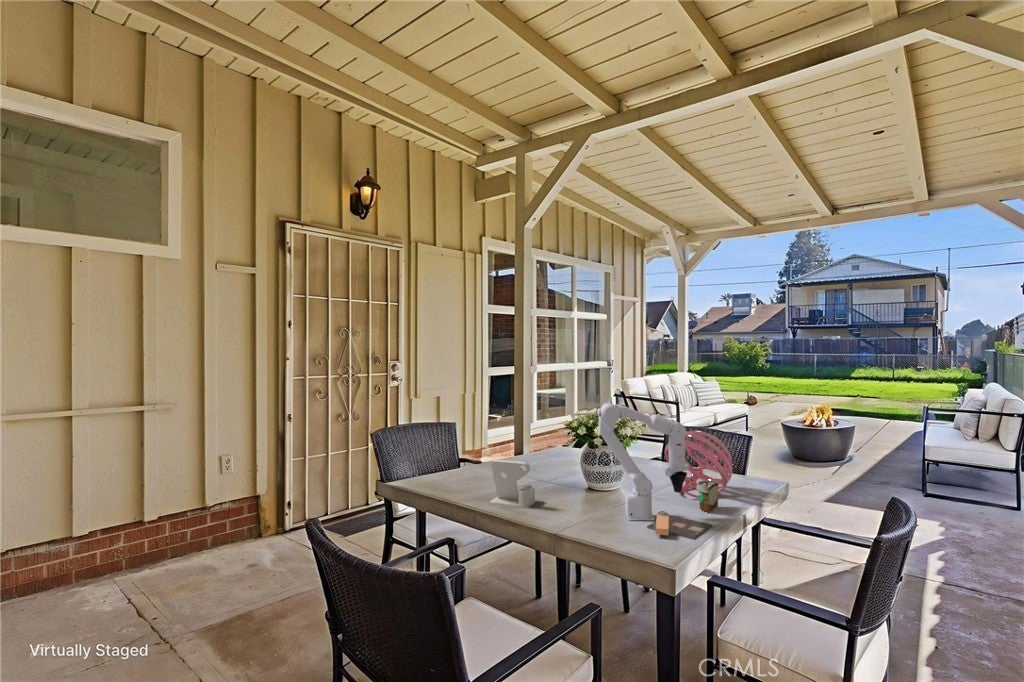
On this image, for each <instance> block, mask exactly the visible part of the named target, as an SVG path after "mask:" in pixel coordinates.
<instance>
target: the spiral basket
mask: <svg viewBox="0 0 1024 682" xmlns="http://www.w3.org/2000/svg"><path fill="white" fill-rule="evenodd" d="M704 436H706V437H707V438H706V437H704ZM689 437H690V438H694V442H692V441H690V440H689ZM708 438H709V439H711V440H712V441H714V442H715V443H717V444H718V445H719V446H720V447H721V448H722V449H723V450H722V449H721V448H719V446H717V445H716V444H715V443H714V442H712V441H711V440H709V439H708ZM684 439H685V452H686V453H687V454H688V455H689V456H690V457H691V458H692V459H693V460H694V461H695V462H696V463H697V464H698V467H693V466H692V465H691V464H690V463H689V462H688V461H687V459H685V463H686V464H689V470H687V471H688V472H689V473H691V476H690V477H688V475H687V476H686V477H685V480H684V484H683V487H682V491H681V492H680V493H679V494H683V493H684V494H686V495H688V497H692V498H695V499H699V495H696V494H693V493H690V492H688V490H689V489H690V488H694V489H696V487H697V484H698V482H697V481H698V480H701V481H704V480H714V481H718V484H719V485H721V486H719V487H718V495H719V494H720V493H722V492H723V490H724V491H725V488H726V487H727V485H728V483H729V481H730V480H731V478H732V476H733V467H732V466H733V460H732V456H731V453H730V452H729V450H728V449H727V447H726V446H725V444H724V443H723V441H722V440H720V439H719V438H717V437H716V436H715V435H713V434H710V433H709V432H704V431H701V430H689V431H687V434H686V436H685V438H684ZM704 444H706V445H707V446H709V447H710V448H709V449H708V448H707V447H706V446H705V445H704ZM694 450H695V451H696V452H697V453H699V454H701V455H702V456H704V458H702V457H700V456H699V455H698V454H697V453H696V452H695V451H694ZM713 450H714V451H715V452H713ZM664 455H665V459H666V462H667V463H668V464H669V442H668V443H667V444H666V445H665V448H664ZM719 461H723V463H724V464H723V466H722V464H721V463H720V462H719ZM705 469H706V470H709V471H712V472H715V473H718V474H719V475H720V477H721V478H714V477H712V476H709V475H706V474H705V473H704V470H705Z"/></svg>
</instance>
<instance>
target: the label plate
mask: <svg viewBox="0 0 1024 682" xmlns="http://www.w3.org/2000/svg"><path fill="white" fill-rule="evenodd" d="M668 515H669V535H673V534H674V536H677V535H678V537H681V536H682V537H683V538H685V537H686V538H685V539H689V538H691V539H690V540H693V539H694V540H695V539H696V538H698V537H700V536H701V535H702V534H704V533H705V532H706V531H708V530H710V529H711V528H712V527H713V524H711V523H708V522H702V521H699V520H694V519H690V518H684V517H680V516H675V515H671V514H668ZM710 527H711V528H710ZM646 529H649V530H654V531H656V521H654V522H651V523H650V524H649V525H647V526H646ZM703 532H704V533H703Z"/></svg>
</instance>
